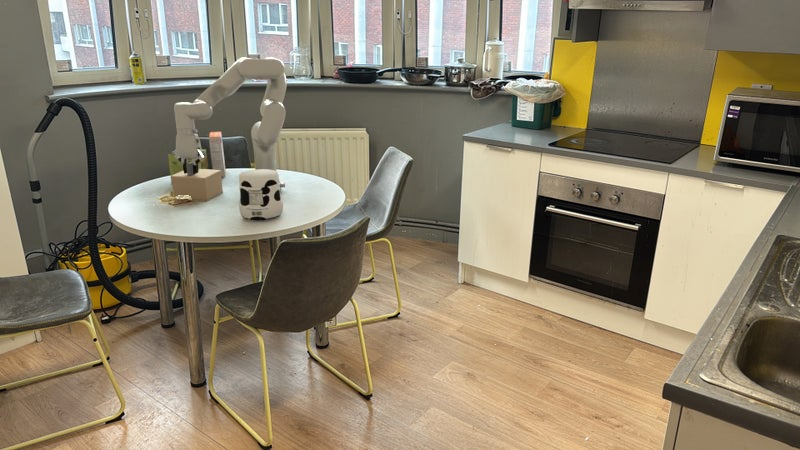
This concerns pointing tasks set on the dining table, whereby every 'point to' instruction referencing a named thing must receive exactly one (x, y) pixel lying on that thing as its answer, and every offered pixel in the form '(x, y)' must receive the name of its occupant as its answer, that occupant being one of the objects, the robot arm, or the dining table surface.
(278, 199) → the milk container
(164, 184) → the dining table surface
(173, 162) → the protein box
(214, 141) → the cracker box
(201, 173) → the lid flap
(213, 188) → the carton
